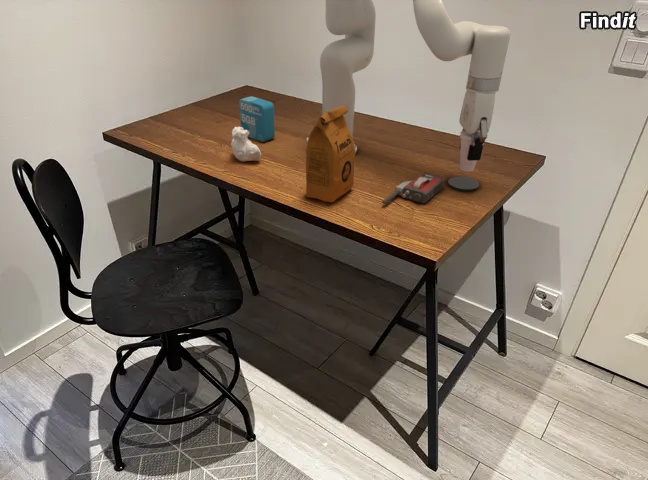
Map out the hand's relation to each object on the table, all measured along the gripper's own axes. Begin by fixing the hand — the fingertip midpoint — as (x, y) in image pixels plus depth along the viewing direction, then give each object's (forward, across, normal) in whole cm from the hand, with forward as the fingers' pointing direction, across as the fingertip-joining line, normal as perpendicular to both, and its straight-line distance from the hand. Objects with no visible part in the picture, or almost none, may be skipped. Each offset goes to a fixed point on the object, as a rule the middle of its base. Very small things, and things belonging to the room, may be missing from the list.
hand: (469, 154), depth 133 cm
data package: (+9, -38, -57) cm, 69 cm away
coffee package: (+9, +4, -36) cm, 37 cm away
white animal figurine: (+9, -20, -60) cm, 64 cm away
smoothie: (+4, 0, 0) cm, 4 cm away
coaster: (+9, 0, 0) cm, 9 cm away
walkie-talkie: (+9, +7, -15) cm, 18 cm away
